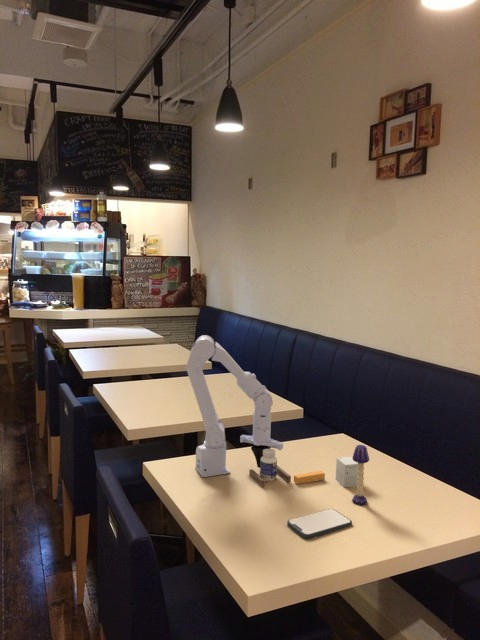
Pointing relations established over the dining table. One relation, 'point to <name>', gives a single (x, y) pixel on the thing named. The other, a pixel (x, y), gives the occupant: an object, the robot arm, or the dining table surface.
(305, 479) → the orange rectangular block
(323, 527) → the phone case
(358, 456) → the toy lamp
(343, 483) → the product box
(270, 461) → the pill bottle
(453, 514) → the dining table surface
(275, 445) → the robot arm
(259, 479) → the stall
